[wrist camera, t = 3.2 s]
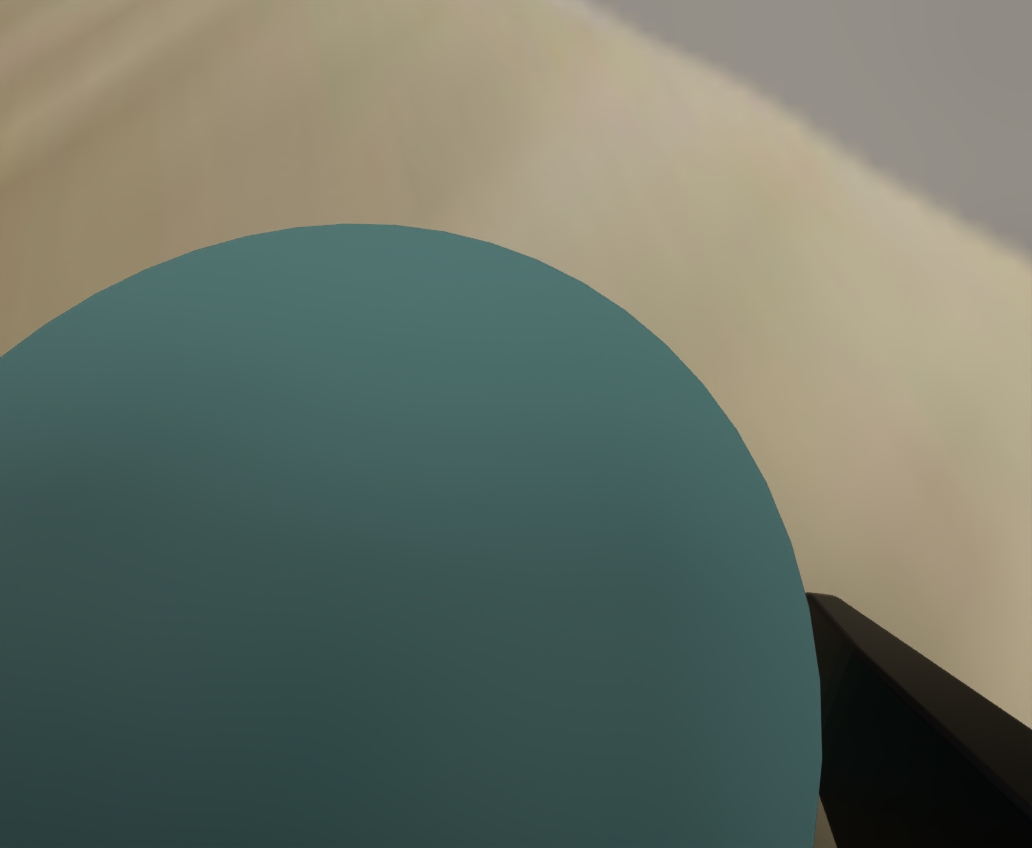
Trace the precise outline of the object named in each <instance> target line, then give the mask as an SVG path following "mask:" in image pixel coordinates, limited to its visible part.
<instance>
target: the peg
mask: <svg viewBox="0 0 1032 848" xmlns="http://www.w3.org/2000/svg"><path fill="white" fill-rule="evenodd" d="M821 765H822V737H821V698H820V677H819V670H818V664H817V657H816V650H815V644H814V637H813V630H812V623H811V617H810V610H809V606H808V602H807V598H806V595H805V591H804V587H803V584H802V580H801V577H800V573H799V569H798V566H797V562H796V558H795V555H794V551H793V548H792V544H791V541H790V538H789V536H788V534H787V531H786V529H785V526H784V524H783V521H782V519H781V517H780V514H779V512H778V509H777V507H776V504H775V502H774V500H773V497H772V495H771V492H770V490H769V487H768V485H767V483H766V481H765V479H764V477H763V476H762V474H761V472H760V470H759V468H758V467H757V465H756V463H755V461H754V460H753V458H752V456H751V454H750V452H749V451H748V449H747V447H746V445H745V444H744V442H743V440H742V438H741V436H740V435H739V433H738V431H737V429H736V428H735V427H734V425H733V424H732V423H731V421H730V420H729V419H728V417H727V416H726V414H725V413H724V412H723V410H722V409H721V408H720V406H719V405H718V404H717V402H716V401H715V399H714V398H713V397H712V395H711V394H710V393H709V391H708V390H707V389H706V387H705V386H704V385H703V383H702V382H701V381H700V380H699V379H698V378H697V377H696V376H695V375H694V374H693V373H692V372H691V371H690V369H689V368H688V367H687V366H686V365H685V364H684V363H683V362H682V361H681V360H680V359H679V358H678V357H677V356H676V355H675V353H674V352H673V351H672V350H671V349H670V348H669V347H668V346H667V345H666V344H665V343H664V342H663V341H661V340H660V339H659V338H658V337H657V336H655V335H654V334H653V333H652V332H651V331H650V330H648V329H647V328H646V327H645V326H644V325H642V324H641V323H640V322H639V321H638V320H636V319H635V318H634V317H633V316H632V315H630V314H629V313H628V312H627V311H626V310H624V309H623V308H621V307H620V306H618V305H617V304H615V303H614V302H612V301H610V300H609V299H607V298H606V297H604V296H603V295H601V294H600V293H598V292H597V291H595V290H594V289H592V288H591V287H589V286H588V285H586V284H584V283H583V282H581V281H579V280H577V279H575V278H573V277H571V276H569V275H567V274H565V273H563V272H561V271H559V270H557V269H555V268H553V267H551V266H549V265H547V264H545V263H543V262H541V261H539V260H537V259H534V258H531V257H529V256H526V255H523V254H520V253H518V252H515V251H512V250H509V249H507V248H504V247H501V246H498V245H496V244H493V243H489V242H485V241H481V240H477V239H473V238H469V237H465V236H461V235H457V234H452V233H448V232H444V231H437V230H429V229H422V228H414V227H406V226H399V225H374V224H336V225H323V226H310V227H297V228H291V229H285V230H279V231H274V232H268V233H262V234H256V235H251V236H245V237H242V238H238V239H235V240H231V241H227V242H224V243H220V244H217V245H213V246H209V247H206V248H202V249H198V250H195V251H192V252H190V253H187V254H184V255H182V256H179V257H177V258H174V259H171V260H169V261H166V262H163V263H161V264H158V265H156V266H153V267H150V268H148V269H145V270H143V271H141V272H139V273H137V274H135V275H133V276H131V277H129V278H127V279H125V280H123V281H121V282H119V283H116V284H114V285H112V286H110V287H108V288H106V289H104V290H102V291H100V292H98V293H96V294H94V295H93V296H91V297H89V298H88V299H86V300H84V301H83V302H81V303H79V304H78V305H76V306H74V307H73V308H71V309H70V310H68V311H66V312H65V313H63V314H61V315H60V316H58V317H56V318H55V319H53V320H51V321H50V322H48V323H47V324H45V325H44V326H42V327H41V328H40V329H38V330H37V331H35V332H34V333H33V334H31V335H30V336H29V337H27V338H26V339H25V340H23V341H22V342H21V343H19V344H18V345H17V346H15V347H14V348H13V349H11V350H10V351H8V352H7V353H6V354H4V355H3V356H2V357H0V848H813V845H814V838H815V828H816V817H817V807H818V797H819V786H820V776H821Z"/></svg>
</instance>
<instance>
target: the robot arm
mask: <svg viewBox="0 0 1032 848" xmlns="http://www.w3.org/2000/svg"><path fill="white" fill-rule="evenodd" d="M805 595H806V598H807V602H808V606H809V610H810V617H811V623H812V630H813V637H814V644H815V650H816V657H817V664H818V670H819V677H820V698H821V737H822V765H821V776H820V786H819V796H820V799H821V802H822V805H823V808H824V810H825V813H826V816H827V819H828V822H829V825H830V828H831V831H832V834H833V837H834V840H835V843H836V846H837V848H1032V729H1030V728H1029V727H1027V726H1026V725H1024V724H1023V723H1021V722H1020V721H1019V720H1017V719H1016V718H1014V717H1013V716H1011V715H1010V714H1008V713H1007V712H1005V711H1004V710H1002V709H1001V708H999V707H998V706H997V705H995V704H994V703H992V702H991V701H989V700H988V699H986V698H985V697H983V696H982V695H980V694H979V693H977V692H976V691H974V690H973V689H972V688H970V687H969V686H967V685H966V684H964V683H963V682H961V681H960V680H958V679H957V678H955V677H954V676H952V675H951V674H950V673H948V672H947V671H945V670H944V669H942V668H941V667H939V666H938V665H936V664H935V663H933V662H932V661H930V660H929V659H928V658H926V657H925V656H923V655H922V654H920V653H919V652H917V651H916V650H914V649H913V648H911V647H910V646H908V645H907V644H906V643H904V642H903V641H901V640H900V639H898V638H897V637H895V636H894V635H892V634H891V633H889V632H888V631H886V630H885V629H883V628H882V627H881V626H879V625H878V624H876V623H875V622H873V621H872V620H870V619H869V618H867V617H866V616H864V615H863V614H861V613H860V612H859V611H857V610H856V609H854V608H853V607H851V606H850V605H848V604H847V603H845V602H844V601H842V600H841V599H839V598H838V597H836V596H833V595H827V594H819V593H811V592H806V593H805Z"/></svg>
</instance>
